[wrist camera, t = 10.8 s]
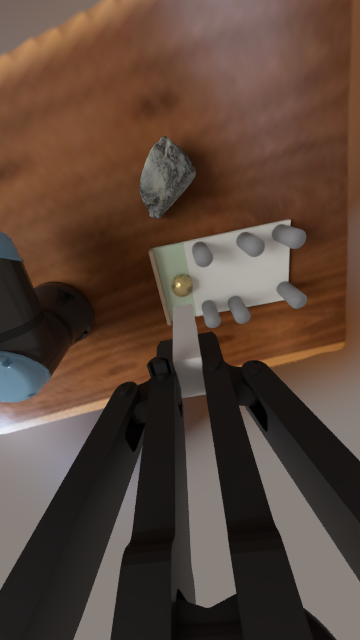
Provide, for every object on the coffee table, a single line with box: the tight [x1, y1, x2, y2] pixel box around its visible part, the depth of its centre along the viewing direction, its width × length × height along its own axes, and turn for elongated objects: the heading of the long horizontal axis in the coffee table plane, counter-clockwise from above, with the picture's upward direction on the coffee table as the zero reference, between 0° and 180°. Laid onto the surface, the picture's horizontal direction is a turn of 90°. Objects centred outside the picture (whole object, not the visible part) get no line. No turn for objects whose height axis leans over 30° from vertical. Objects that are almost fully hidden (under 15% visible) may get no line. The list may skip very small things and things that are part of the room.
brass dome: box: [172, 274, 193, 297], centre depth 49 cm, size 4×4×2 cm
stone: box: [140, 136, 196, 219], centre depth 38 cm, size 10×10×10 cm
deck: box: [149, 219, 307, 328], centre depth 46 cm, size 29×17×8 cm, turn 101°
